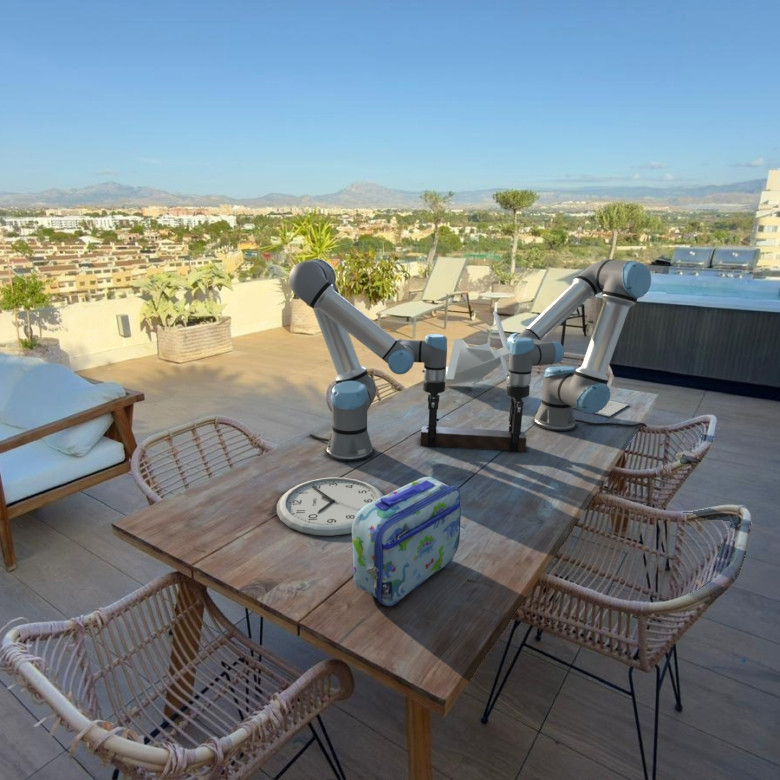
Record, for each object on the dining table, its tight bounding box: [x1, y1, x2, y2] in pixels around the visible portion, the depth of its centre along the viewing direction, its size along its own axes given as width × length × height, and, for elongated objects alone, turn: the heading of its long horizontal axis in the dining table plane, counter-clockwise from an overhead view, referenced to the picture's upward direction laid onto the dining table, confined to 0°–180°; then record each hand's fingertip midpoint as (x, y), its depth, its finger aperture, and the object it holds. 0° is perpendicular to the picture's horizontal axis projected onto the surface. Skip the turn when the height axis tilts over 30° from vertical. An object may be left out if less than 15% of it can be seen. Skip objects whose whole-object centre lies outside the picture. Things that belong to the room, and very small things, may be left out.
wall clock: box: [276, 476, 385, 537], centre depth 142 cm, size 30×2×30 cm
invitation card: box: [595, 399, 629, 418], centre depth 226 cm, size 21×1×15 cm
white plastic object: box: [445, 310, 531, 396], centre depth 245 cm, size 37×45×31 cm
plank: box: [420, 425, 527, 453], centre depth 183 cm, size 36×6×5 cm, turn 83°
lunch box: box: [351, 476, 462, 607], centre depth 111 cm, size 26×11×21 cm, turn 135°
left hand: (431, 442), depth 186 cm, fingers closed on plank, 6 cm apart
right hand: (512, 447), depth 182 cm, fingers closed on plank, 6 cm apart
